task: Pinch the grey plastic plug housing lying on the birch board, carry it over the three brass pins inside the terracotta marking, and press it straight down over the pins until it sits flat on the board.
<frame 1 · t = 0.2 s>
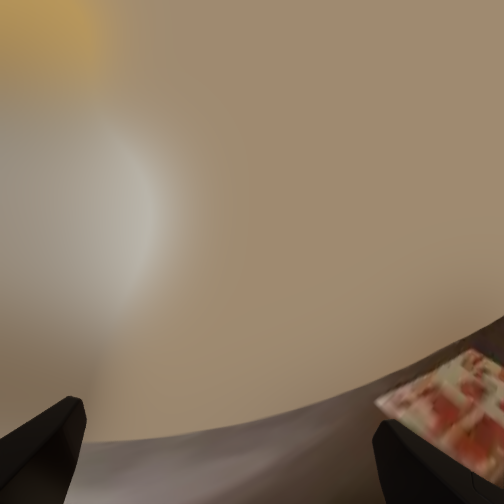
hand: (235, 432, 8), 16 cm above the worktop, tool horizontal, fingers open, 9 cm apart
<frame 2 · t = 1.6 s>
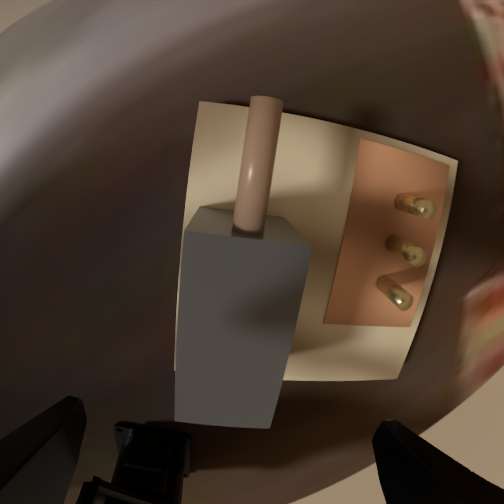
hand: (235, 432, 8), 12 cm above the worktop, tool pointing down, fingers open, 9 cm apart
plug housing: (231, 291, 18), point 1 cm above the worktop, touching birch board
birch board: (317, 259, 19), on the worktop
header pins: (381, 236, 19), resting on birch board
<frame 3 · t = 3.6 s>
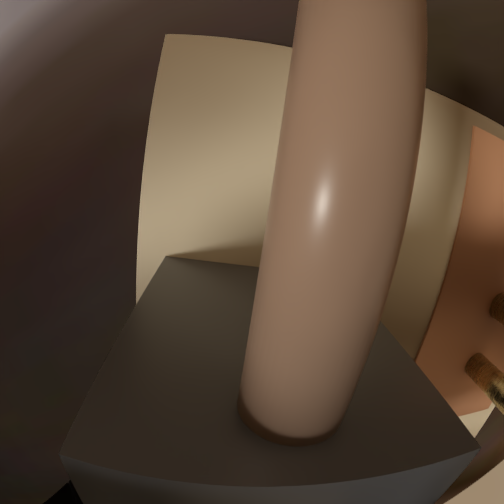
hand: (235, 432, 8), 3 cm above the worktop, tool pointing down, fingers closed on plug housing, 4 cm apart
plug housing: (234, 402, 9), point 1 cm above the worktop, touching birch board, gripper
birch board: (380, 333, 11), on the worktop
header pins: (473, 289, 10), resting on birch board
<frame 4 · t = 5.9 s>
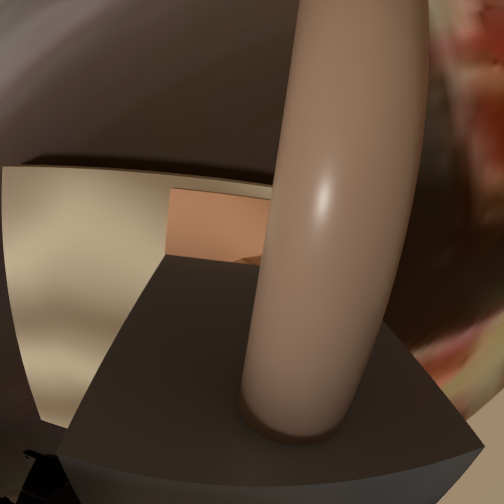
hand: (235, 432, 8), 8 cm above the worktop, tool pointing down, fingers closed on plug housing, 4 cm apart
plug housing: (234, 401, 9), point 7 cm above the worktop, touching gripper
birch board: (152, 331, 16), on the worktop
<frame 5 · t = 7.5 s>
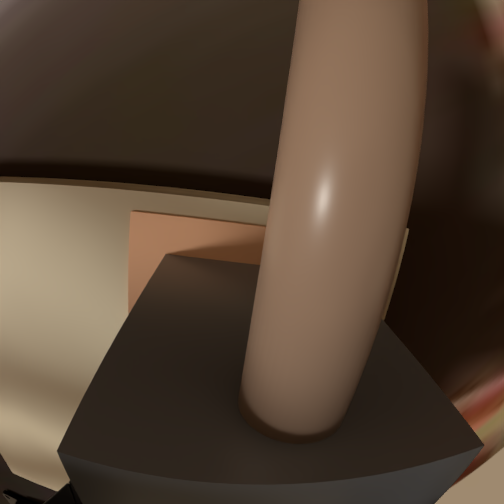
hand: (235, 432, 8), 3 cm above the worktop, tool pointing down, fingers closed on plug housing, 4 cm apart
plug housing: (234, 401, 9), point 2 cm above the worktop, touching gripper
birch board: (126, 397, 11), on the worktop
when the fingers open (3 cm above the worktop, at t = 8.4 s): plug housing stays where it is, resting on birch board.
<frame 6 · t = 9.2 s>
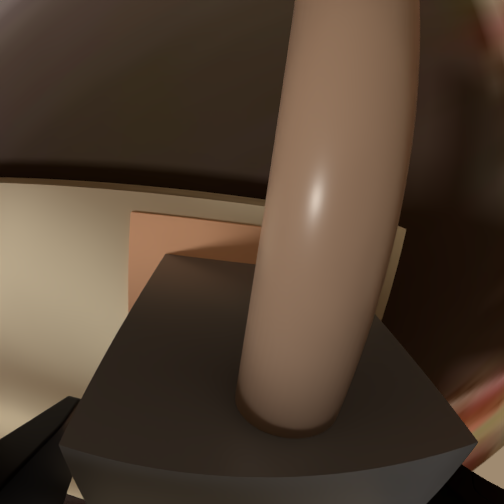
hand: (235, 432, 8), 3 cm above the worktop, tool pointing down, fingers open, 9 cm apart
plug housing: (233, 399, 9), point 2 cm above the worktop, touching birch board
birch board: (126, 396, 11), on the worktop
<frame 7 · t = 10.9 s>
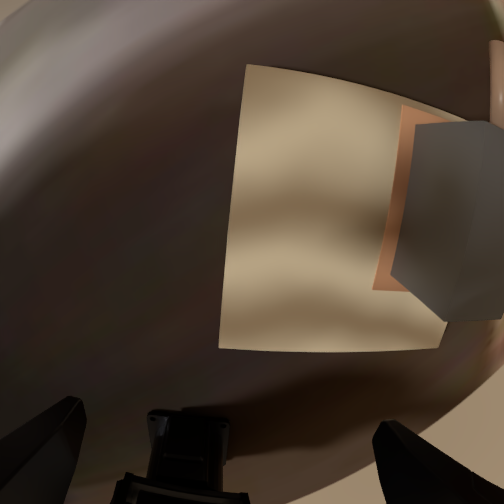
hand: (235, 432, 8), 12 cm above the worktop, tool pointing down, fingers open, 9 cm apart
plug housing: (434, 206, 17), point 2 cm above the worktop, touching birch board
birch board: (363, 225, 19), on the worktop
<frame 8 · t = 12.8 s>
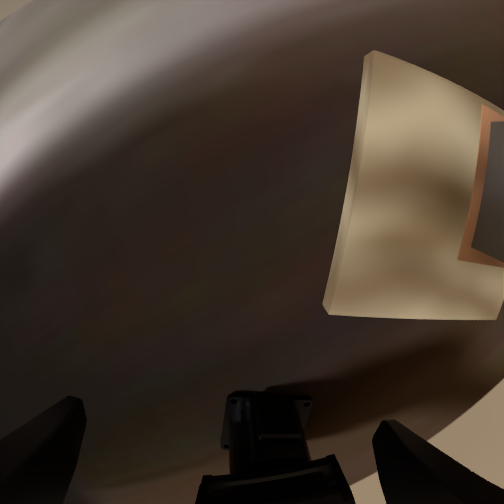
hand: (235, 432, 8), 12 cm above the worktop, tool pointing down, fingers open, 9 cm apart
plug housing: (502, 191, 17), point 2 cm above the worktop, touching birch board
birch board: (448, 203, 19), on the worktop
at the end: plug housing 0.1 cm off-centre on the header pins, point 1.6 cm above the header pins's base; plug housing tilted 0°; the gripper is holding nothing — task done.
